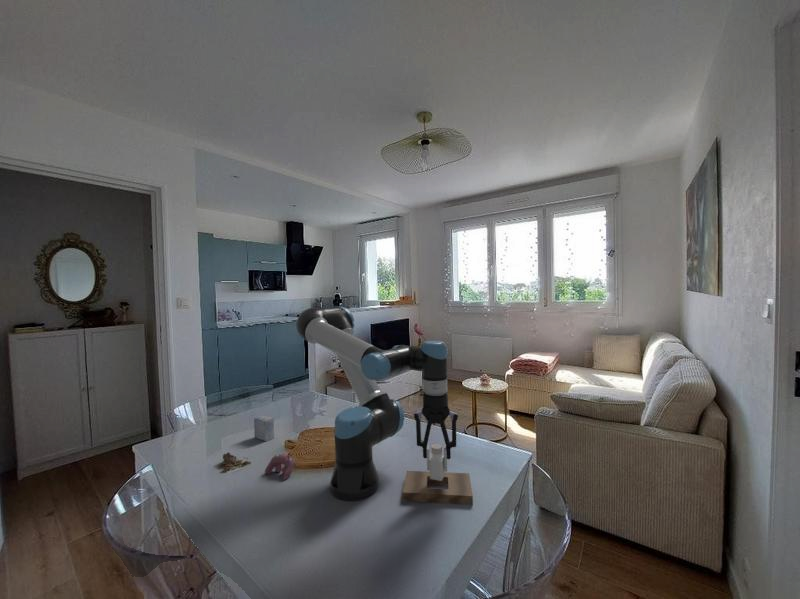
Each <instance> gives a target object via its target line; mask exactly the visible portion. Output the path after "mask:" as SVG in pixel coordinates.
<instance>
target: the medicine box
mask: <svg viewBox="0 0 800 599" xmlns="http://www.w3.org/2000/svg"><path fill="white" fill-rule="evenodd" d="M253 423H254V424H253V430H254V432H253V434H254V438H255V439H257V440H260V441H264V442H268V441H270V440H272V439H274V438H275V420H274V417H271V416H266V415H264V414H263V415H259V416H257V417H255V418H253Z"/></svg>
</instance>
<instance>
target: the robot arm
mask: <svg viewBox="0 0 800 599" xmlns="http://www.w3.org/2000/svg"><path fill="white" fill-rule="evenodd" d="M354 322H355V318H354V315H353V313H352V312H351V310H349V309H348V308H346V307H345V306H337V305H334V306H326V307H322V306H321V307H320V306H319V307H309V308H307V309H305V310H303V311H302V312H301V313H300V314H299V315H298V317H297V319H296V325H295V326H296V331H297V333H298V335H299V336H300V337H301V338H302V339H303V340H305V341H306V342H308V343H310V344H314V345H315V344H318V345H320V346H321V347H324V348H326V349H327V350H329V351H331V352H332V353H335V355H336V357H337V359H338V361H339V364H340V365H341V368H342V369H343V372H344V374H345V376H346V378H347V380H348V383H350V385H351V388H352V391H353V392H354V394H355V397H356V398H357V400H358V406H354V407H348V408H346V409H343V410H341V411H340V412H339V413H337V415H336V416H335V419H334V428H333V433H334V449H335V450H334V457H335V458H334V460H335V461H334V462H335V464H334V467H333V471H332V474H331V478H330V483H329V487H330V488H329V490H330V493H331V494H332V496H333V497H335V498H336V499H339V500H343V501H358V500H363V499H366V498H369V497H370V496H372V495H373V494H375V492H377V490H378V489H379V486H380V485H379V484H380V483H379V479H380V478H379V474H378V470H377V469H376V468H377V467H376V466H375V463H374V462H375V461H374V458H373V447H374V446H376V445H379V443H382V442H383V441H385V440H387V439H388V438H393V436H395V435H396V434H397V433H399V432H400V431H401V430H402V428H403V426H404V422H405V411H404V409H403V407H402V404H401V403H400V402H399V401H397V400H396V399H392V398H390V396H389V394H388V392H385V391H383V390H381V388H380V387H379V384H378V382H377V381H376V380H382V379H384V378H387V377H391V376H393V375H396V374H400V373H403V372H407V371H417V372H422V391H423V393H422V408H421V410H419V411H417V410H415V411H414V413H413V418H414V420H415V429H416V435H415V436H416V446H417V447H421V448H422V457H423V459H426V472H430V464H429V459H430V456H431V453H430V452H431V451H430V449H431V448H430V444H428V441H429V438H430V434H431V428H432V425H434V424H438V425H440V429H441V432H442V436H443V439H444V444H445V445H443V456H444V468H445V472H448V460H451V449H452V448H456V447H457V421H458V418H459V415H458V412H457V411H455V412H454V411H451V410H450V408H449V402H448V401H449V396H448V395H449V394H448V362H447V361H448V354H447V345H446V343H445V342H444V341H442V340H426V341H423V342H422V343H421V346H414V345H413V346H412V345H405V344H400V345H399V344H398V345H394V346H393V347H392V348H390V349H387V350H386V349H385V350H384V349H381V348H379V347H377V346H375V345H373V344H371V343H369V342H367V341H365V340H363V339H361V338H358V337H356V336H354V333H355V330H354V329H355V323H354ZM422 415H423V416H422ZM448 416H449V418H450V421H451V441H450V438H449V435H448V434H449V433H448V431H447V430H448V429H447V427H446V426H447V425H446V422H445V421H446V419H447V418H448ZM422 417H424V419H426V421H427V422H426V428H425V433H424V437H423V440H422V427H421V426H422V425H421V423H422V422H421V421H422V420H421V419H422Z"/></svg>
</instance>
